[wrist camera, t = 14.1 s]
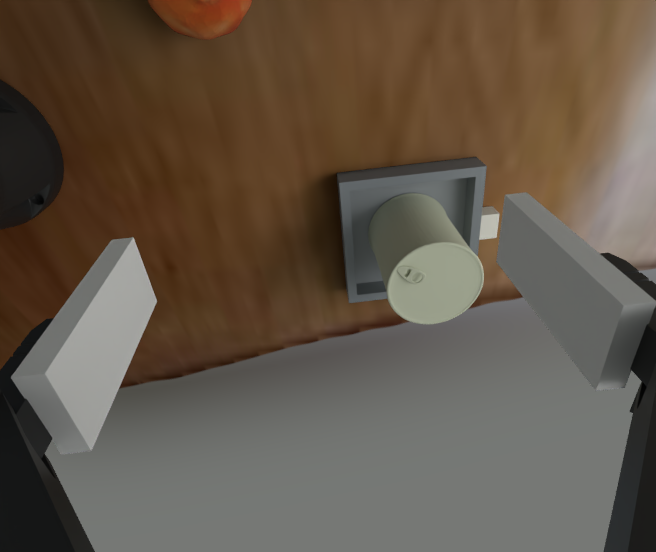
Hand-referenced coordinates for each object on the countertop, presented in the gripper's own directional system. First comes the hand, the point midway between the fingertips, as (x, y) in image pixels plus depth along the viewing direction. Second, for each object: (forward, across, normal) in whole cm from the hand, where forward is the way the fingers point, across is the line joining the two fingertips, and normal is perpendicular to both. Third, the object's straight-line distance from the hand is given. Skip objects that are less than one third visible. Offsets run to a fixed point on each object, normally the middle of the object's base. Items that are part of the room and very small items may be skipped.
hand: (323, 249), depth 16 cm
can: (+31, +10, -16) cm, 37 cm away
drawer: (+32, +11, -16) cm, 37 cm away
